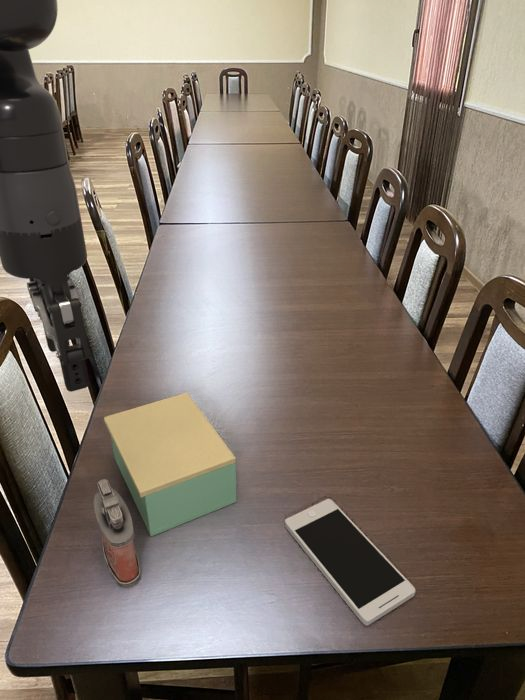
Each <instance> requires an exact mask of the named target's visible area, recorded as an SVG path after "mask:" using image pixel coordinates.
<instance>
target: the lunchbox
mask: <svg viewBox="0 0 525 700" xmlns="http://www.w3.org/2000/svg"><path fill="white" fill-rule="evenodd" d="M110 439H111V445H112V451H113V457H114V460H115V462H116V465H117V468H118V469H119V471H120V473H121V476H122V478H123V479H124V482H125V484H126V486H127V489H128V491H129V493H130V495H131V497H132V499H133V501H134V503H135V506H136V508H137V510H138V512H139V514H140V516H141V519H142V521H143V523H144V525H145V527H146V530H147V531H148V534H149V536H150V537H154V536H156V535H158V534H161V533H163V532H166V531H169V530H171V529H174V528H176V527H179V526H181V525H183V524H185V523H186V524H187V523H189V522H191V521H194V520H196V519H198V518H201V517H203V516H206V515H208V514H210V513H213V512H215V511H218V510H220V509H223V508H226V507H227V506H228V507H229V506H231V505H233V504H235V503H237V463H236V462H235V463H233V464H230V465H227V466H225V467H222V468H219V469H217V470H214V471H211V472H209V473H206V474H203V475H200V476H198V477H195V478H192V479H190V480H187V481H184V482H182V483H179V484H176V485H173V486H171V487H168V488H165V489H163V490H160V491H157V492H155V493H152V494H149V495H146V496H144V497H140V495H139V493H138V491H137V489H136V487H135V485H134V483H133V481H132V478H131V476H130V474H129V472H128V470H127V468H126V466H125V464H124V462H123V460H122V458H121V455H120V453H119V451H118V449H117V447H116V445H115V443H114V441H113V439H112V437H111V436H110Z"/></svg>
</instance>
